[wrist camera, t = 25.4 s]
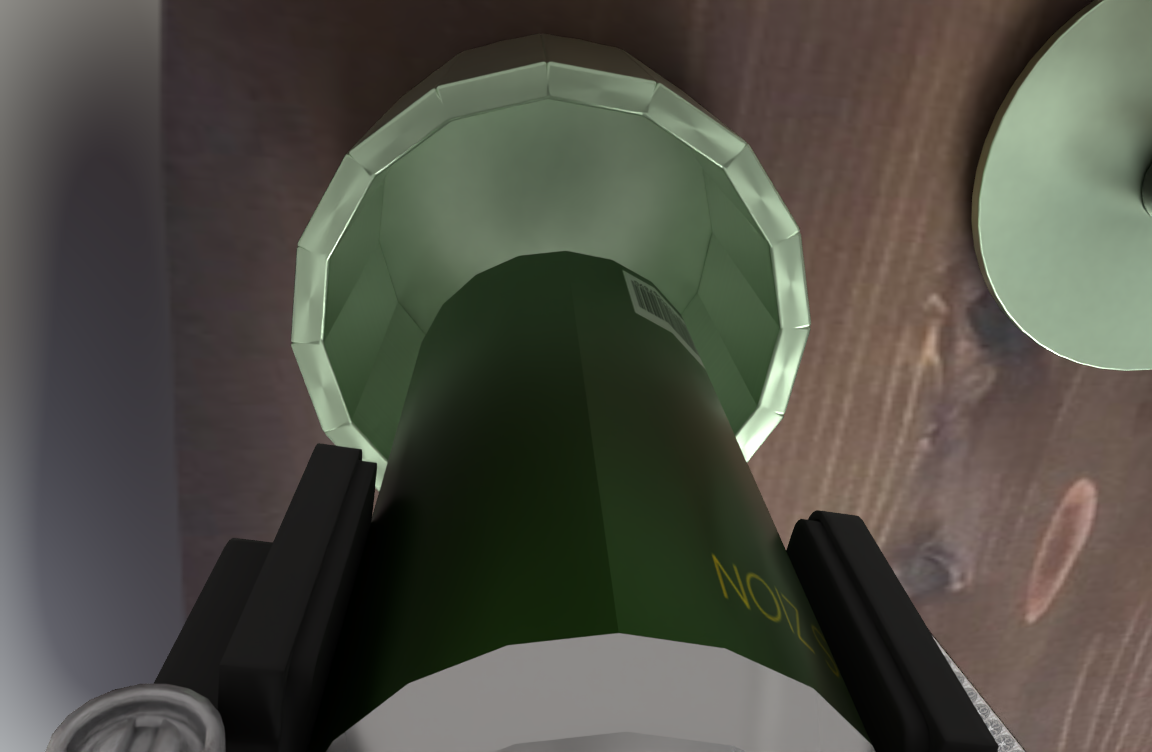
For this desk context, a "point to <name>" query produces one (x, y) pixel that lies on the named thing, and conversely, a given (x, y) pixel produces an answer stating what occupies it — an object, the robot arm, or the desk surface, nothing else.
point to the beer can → (574, 545)
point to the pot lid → (1075, 191)
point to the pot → (544, 226)
